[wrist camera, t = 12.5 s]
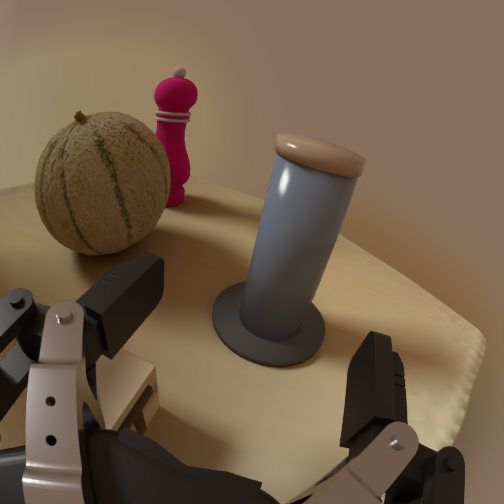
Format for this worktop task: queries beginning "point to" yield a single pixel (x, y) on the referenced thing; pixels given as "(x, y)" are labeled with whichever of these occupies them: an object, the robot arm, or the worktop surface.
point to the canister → (296, 232)
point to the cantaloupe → (102, 183)
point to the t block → (127, 391)
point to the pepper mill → (175, 128)
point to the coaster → (261, 349)
